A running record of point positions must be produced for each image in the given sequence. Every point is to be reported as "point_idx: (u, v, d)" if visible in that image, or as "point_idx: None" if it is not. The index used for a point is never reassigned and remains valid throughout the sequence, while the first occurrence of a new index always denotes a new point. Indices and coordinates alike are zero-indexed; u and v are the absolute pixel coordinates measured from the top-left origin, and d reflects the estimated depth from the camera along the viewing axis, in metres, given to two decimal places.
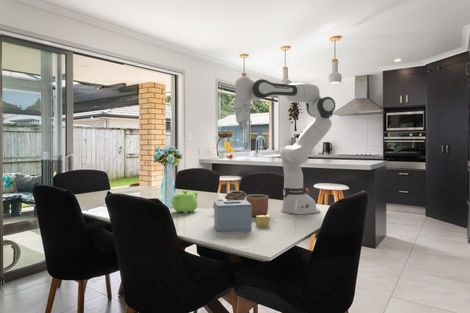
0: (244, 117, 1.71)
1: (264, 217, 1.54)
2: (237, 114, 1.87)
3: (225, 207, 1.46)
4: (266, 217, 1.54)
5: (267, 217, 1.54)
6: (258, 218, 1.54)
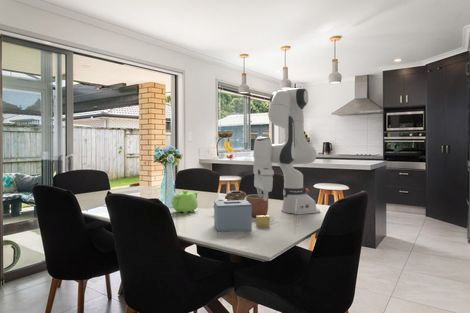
0: None
1: (264, 217, 1.54)
2: None
3: (225, 207, 1.46)
4: (266, 217, 1.54)
5: (267, 217, 1.54)
6: (258, 218, 1.54)
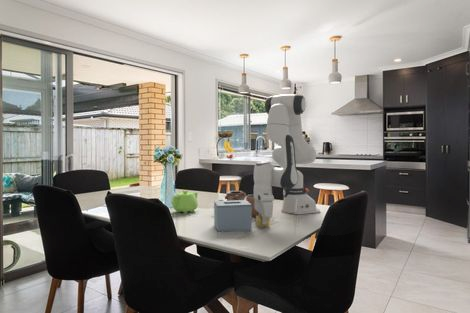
0: None
1: None
2: None
3: (225, 207, 1.46)
4: None
5: None
6: (258, 218, 1.54)
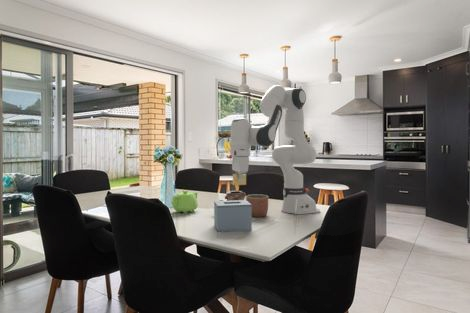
0: None
1: None
2: None
3: (225, 207, 1.46)
4: (243, 175, 1.51)
5: (244, 175, 1.51)
6: (234, 176, 1.50)
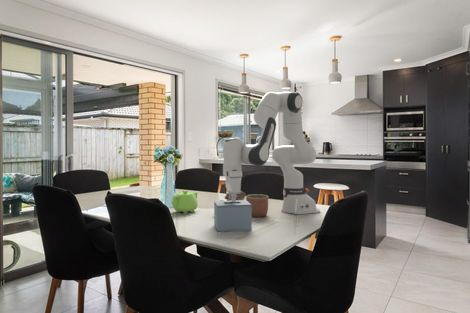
0: None
1: None
2: None
3: (225, 207, 1.46)
4: None
5: None
6: None
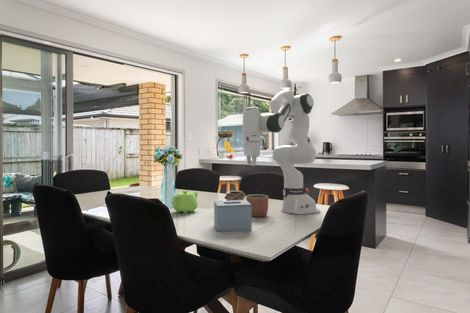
0: None
1: None
2: None
3: (225, 207, 1.46)
4: None
5: None
6: None
